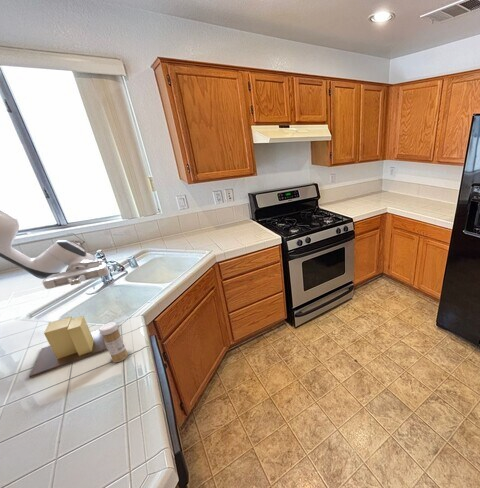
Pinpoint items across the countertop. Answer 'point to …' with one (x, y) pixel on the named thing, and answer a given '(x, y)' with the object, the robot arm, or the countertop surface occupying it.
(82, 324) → the butter slice
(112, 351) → the sprinkles bottle
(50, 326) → the butter block
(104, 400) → the countertop surface
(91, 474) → the countertop surface
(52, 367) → the walnut board
